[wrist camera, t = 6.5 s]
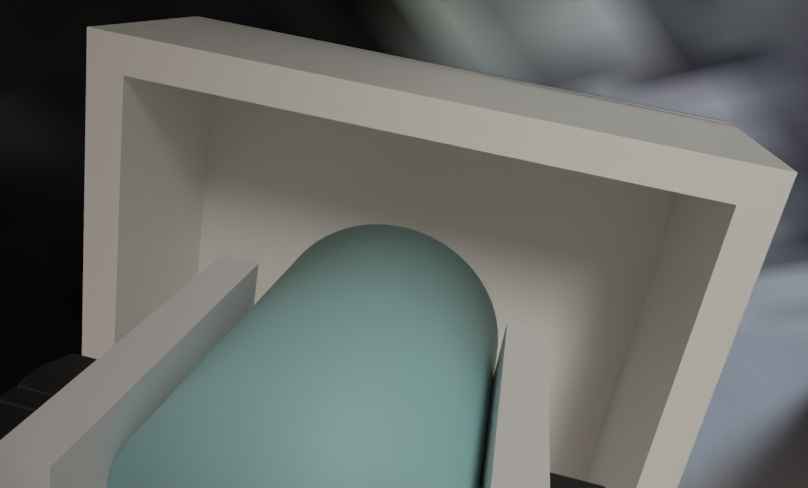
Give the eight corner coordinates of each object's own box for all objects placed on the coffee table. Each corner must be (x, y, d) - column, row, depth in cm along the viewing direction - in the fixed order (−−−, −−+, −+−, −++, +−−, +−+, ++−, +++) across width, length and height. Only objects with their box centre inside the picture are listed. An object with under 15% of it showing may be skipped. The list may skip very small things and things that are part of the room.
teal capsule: (286, 202, 16) (105, 349, 9) (519, 250, 15) (506, 443, 8) (265, 404, 17) (98, 650, 11) (474, 454, 17) (433, 746, 10)
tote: (197, 16, 19) (86, 26, 14) (730, 122, 18) (797, 172, 13) (162, 540, 25) (77, 665, 21) (552, 650, 24) (554, 810, 19)
